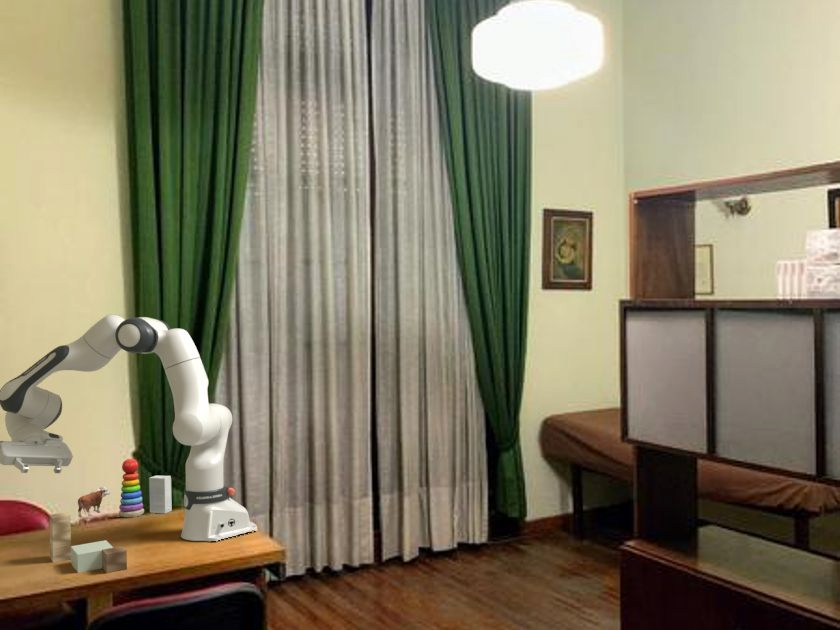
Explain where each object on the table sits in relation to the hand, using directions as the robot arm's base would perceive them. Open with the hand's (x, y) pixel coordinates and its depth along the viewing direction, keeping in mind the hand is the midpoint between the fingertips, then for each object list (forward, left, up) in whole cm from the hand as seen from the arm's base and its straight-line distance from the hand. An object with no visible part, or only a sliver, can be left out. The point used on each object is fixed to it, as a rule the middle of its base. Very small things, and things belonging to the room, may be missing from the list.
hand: (42, 471), depth 223 cm
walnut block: (-12, +33, -22) cm, 42 cm away
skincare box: (-39, -19, -22) cm, 48 cm away
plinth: (-8, +26, -22) cm, 35 cm away
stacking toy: (-30, -21, -22) cm, 43 cm away
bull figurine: (-20, -31, -22) cm, 43 cm away
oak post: (-2, +15, -22) cm, 27 cm away
